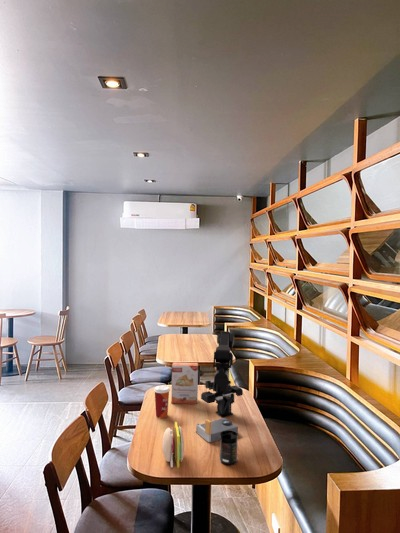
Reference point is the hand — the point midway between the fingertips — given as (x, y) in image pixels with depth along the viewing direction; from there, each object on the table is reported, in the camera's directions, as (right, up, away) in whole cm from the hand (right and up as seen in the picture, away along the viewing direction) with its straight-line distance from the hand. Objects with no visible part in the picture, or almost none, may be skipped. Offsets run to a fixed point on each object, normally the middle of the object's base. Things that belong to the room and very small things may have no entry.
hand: (222, 413), depth 160 cm
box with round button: (-1, -10, +3) cm, 11 cm away
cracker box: (-18, -9, +38) cm, 43 cm away
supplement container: (+1, -11, -18) cm, 22 cm away
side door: (-8, -10, 0) cm, 13 cm away
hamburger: (-20, -11, -18) cm, 29 cm away
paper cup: (-29, -10, +21) cm, 37 cm away
